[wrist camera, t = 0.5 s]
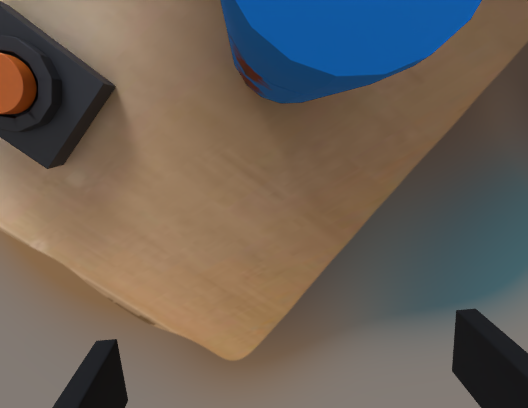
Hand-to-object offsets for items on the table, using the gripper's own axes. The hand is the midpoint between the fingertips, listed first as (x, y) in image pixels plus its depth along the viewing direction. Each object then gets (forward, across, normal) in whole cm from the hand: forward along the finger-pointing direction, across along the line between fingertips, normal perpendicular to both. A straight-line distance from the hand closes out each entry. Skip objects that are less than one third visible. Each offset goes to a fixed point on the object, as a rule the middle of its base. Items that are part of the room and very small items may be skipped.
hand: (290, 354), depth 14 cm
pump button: (+22, -22, +13) cm, 34 cm away
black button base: (+27, -22, +13) cm, 37 cm away
